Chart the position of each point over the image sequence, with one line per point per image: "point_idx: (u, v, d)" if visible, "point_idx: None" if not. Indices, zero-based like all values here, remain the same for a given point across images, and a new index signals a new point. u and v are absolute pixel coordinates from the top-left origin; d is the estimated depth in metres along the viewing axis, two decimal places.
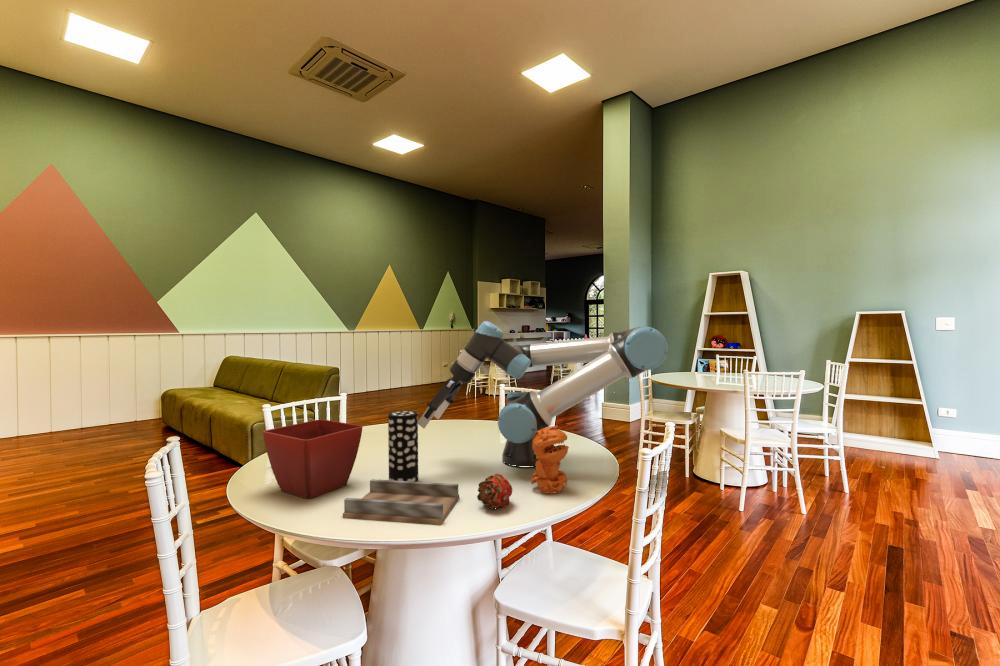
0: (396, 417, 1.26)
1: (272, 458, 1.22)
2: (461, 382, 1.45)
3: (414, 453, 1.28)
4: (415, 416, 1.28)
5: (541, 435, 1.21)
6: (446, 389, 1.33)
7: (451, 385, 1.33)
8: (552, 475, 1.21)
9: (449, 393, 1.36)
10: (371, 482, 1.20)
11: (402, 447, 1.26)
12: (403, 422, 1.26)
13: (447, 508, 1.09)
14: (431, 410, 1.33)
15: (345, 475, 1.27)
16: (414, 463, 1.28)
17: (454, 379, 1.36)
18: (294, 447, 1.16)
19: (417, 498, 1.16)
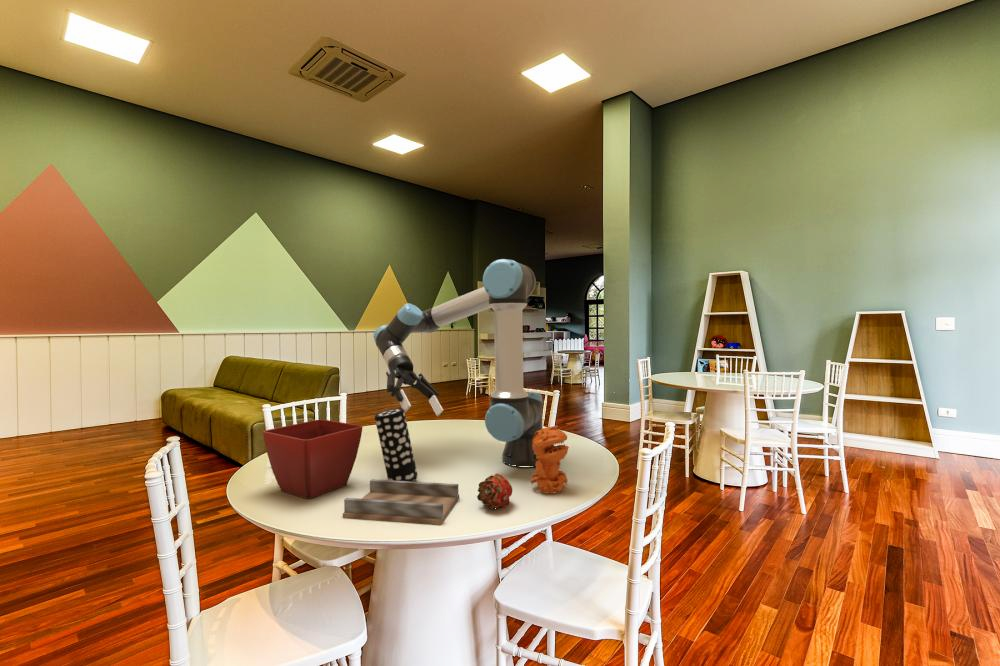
0: (382, 417, 1.25)
1: (272, 458, 1.22)
2: (419, 376, 1.49)
3: (407, 449, 1.27)
4: (401, 413, 1.28)
5: (541, 435, 1.21)
6: (389, 374, 1.39)
7: (389, 369, 1.40)
8: (552, 475, 1.21)
9: (401, 377, 1.40)
10: (371, 482, 1.20)
11: (394, 446, 1.25)
12: (390, 421, 1.25)
13: (447, 508, 1.09)
14: (396, 391, 1.34)
15: (345, 475, 1.27)
16: (410, 459, 1.28)
17: (394, 370, 1.43)
18: (294, 447, 1.16)
19: (417, 498, 1.16)
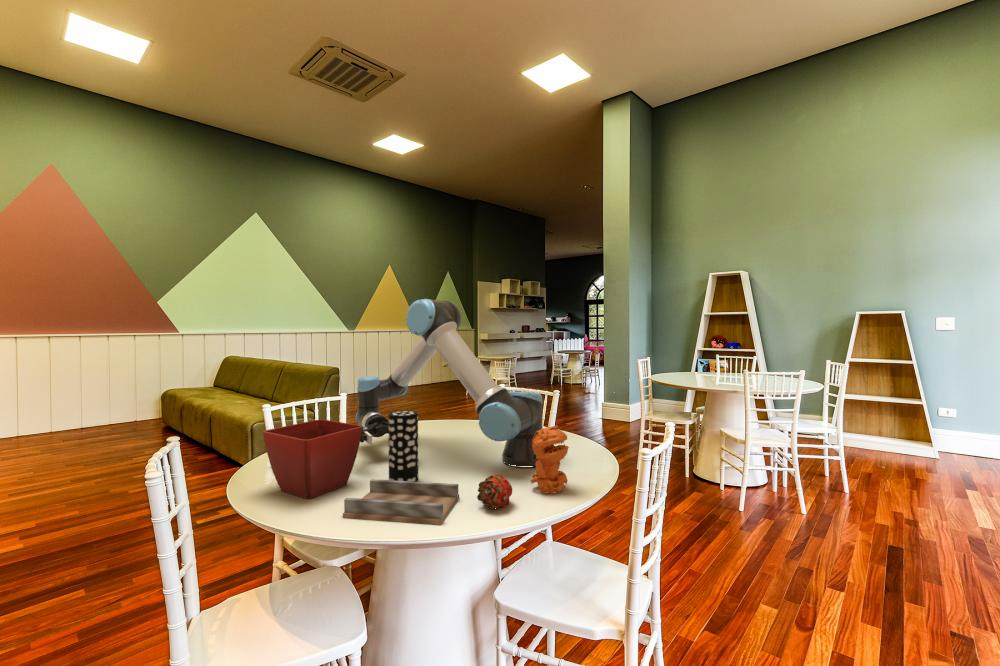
0: (396, 417, 1.26)
1: (272, 458, 1.22)
2: None
3: (414, 453, 1.28)
4: (415, 416, 1.29)
5: (541, 435, 1.21)
6: None
7: None
8: (552, 475, 1.21)
9: (369, 427, 1.47)
10: (371, 482, 1.20)
11: (403, 447, 1.26)
12: (403, 421, 1.26)
13: (447, 508, 1.09)
14: None
15: (345, 475, 1.27)
16: (414, 463, 1.28)
17: None
18: (294, 447, 1.16)
19: (417, 498, 1.16)
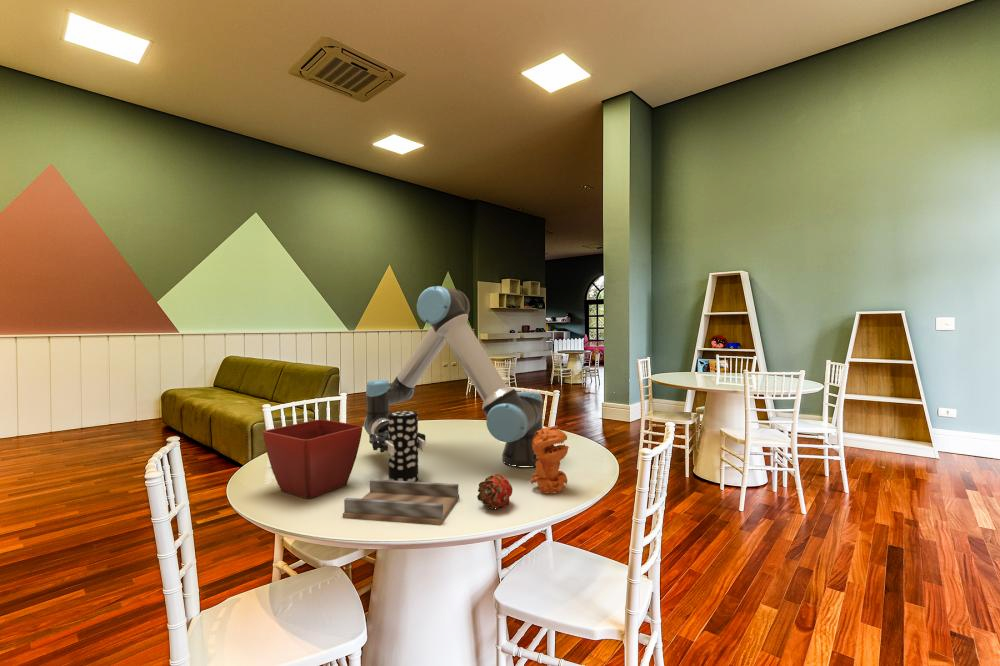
0: (396, 417, 1.26)
1: (272, 458, 1.22)
2: None
3: (414, 453, 1.28)
4: (415, 416, 1.28)
5: (541, 435, 1.21)
6: (371, 439, 1.35)
7: (370, 436, 1.36)
8: (552, 475, 1.21)
9: (383, 435, 1.36)
10: (371, 482, 1.20)
11: (402, 447, 1.26)
12: (403, 422, 1.26)
13: (447, 508, 1.09)
14: (380, 445, 1.28)
15: (345, 475, 1.27)
16: (414, 463, 1.28)
17: None
18: (294, 447, 1.16)
19: (417, 498, 1.16)
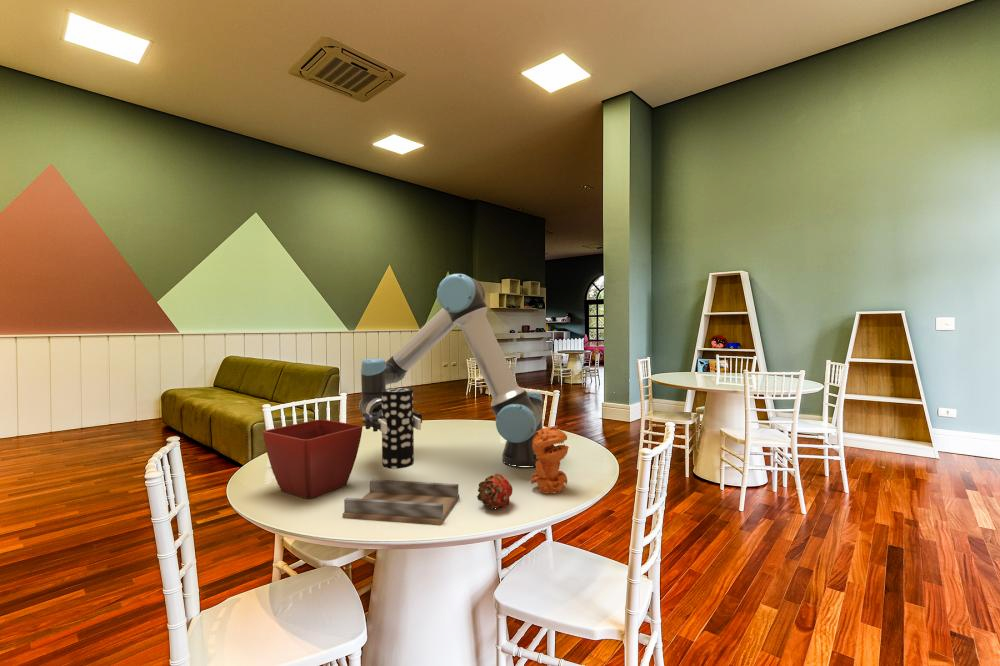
0: (390, 393, 1.18)
1: (272, 458, 1.22)
2: None
3: (408, 432, 1.19)
4: (410, 393, 1.20)
5: (541, 435, 1.21)
6: (365, 418, 1.27)
7: (363, 416, 1.28)
8: (552, 475, 1.21)
9: (377, 415, 1.27)
10: (371, 482, 1.20)
11: (396, 425, 1.18)
12: (397, 398, 1.18)
13: (447, 508, 1.09)
14: (373, 423, 1.20)
15: (345, 475, 1.27)
16: (409, 443, 1.20)
17: None
18: (294, 447, 1.16)
19: (417, 498, 1.16)
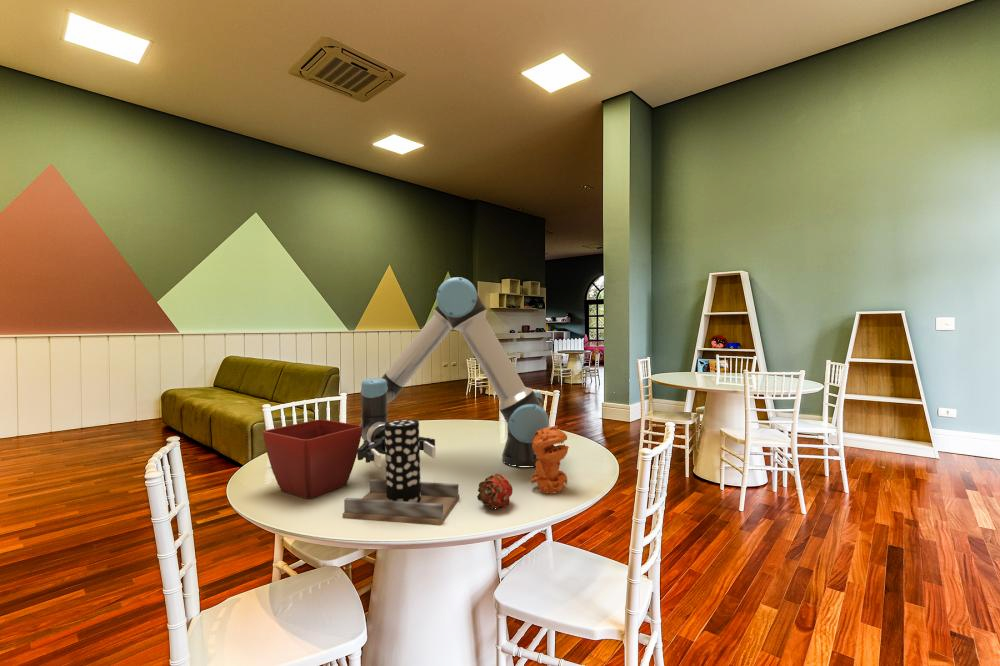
0: (394, 428, 1.08)
1: (272, 458, 1.22)
2: None
3: (415, 469, 1.10)
4: (416, 426, 1.11)
5: (541, 435, 1.21)
6: None
7: (363, 443, 1.19)
8: (552, 475, 1.21)
9: (377, 442, 1.18)
10: (371, 482, 1.20)
11: (402, 463, 1.08)
12: (402, 433, 1.08)
13: (447, 508, 1.09)
14: (366, 454, 1.10)
15: (345, 475, 1.27)
16: (416, 480, 1.10)
17: (374, 443, 1.22)
18: (294, 447, 1.16)
19: None
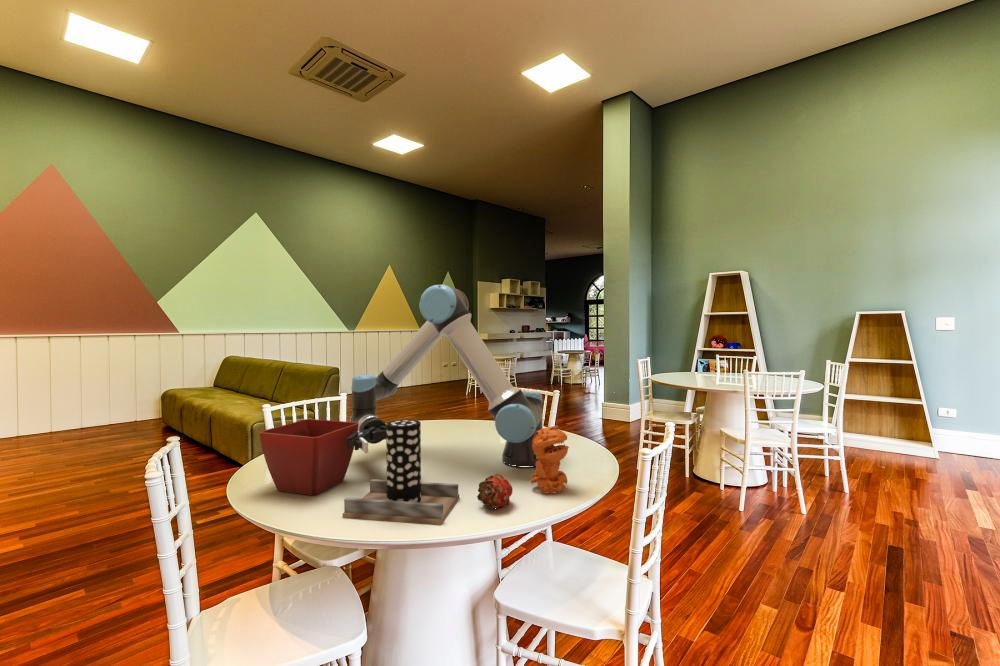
0: (396, 428, 1.08)
1: (271, 458, 1.21)
2: None
3: (416, 469, 1.10)
4: (418, 426, 1.11)
5: (541, 435, 1.21)
6: None
7: (353, 433, 1.30)
8: (552, 475, 1.21)
9: (365, 432, 1.29)
10: (371, 482, 1.20)
11: (403, 463, 1.08)
12: (404, 433, 1.08)
13: (447, 508, 1.09)
14: (355, 442, 1.22)
15: (343, 471, 1.30)
16: (417, 481, 1.10)
17: None
18: (300, 445, 1.17)
19: None
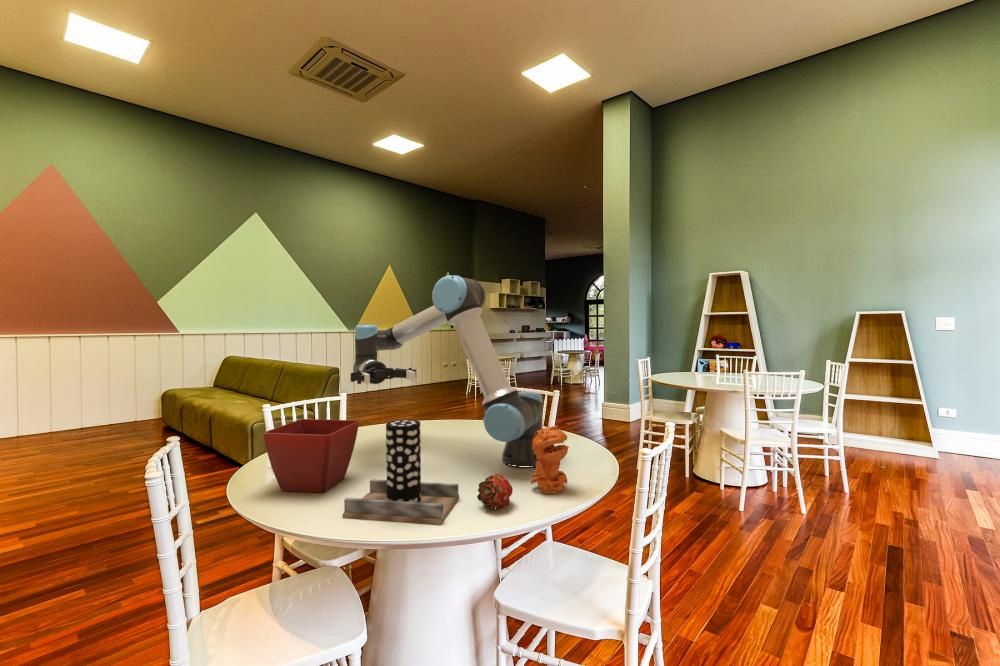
0: (395, 428, 1.08)
1: (276, 458, 1.21)
2: None
3: (416, 469, 1.10)
4: (417, 426, 1.11)
5: (541, 435, 1.21)
6: None
7: None
8: (552, 475, 1.21)
9: (367, 371, 1.41)
10: (371, 482, 1.20)
11: (403, 463, 1.08)
12: (404, 433, 1.08)
13: (447, 508, 1.09)
14: (357, 376, 1.33)
15: (345, 468, 1.33)
16: (416, 481, 1.10)
17: None
18: (311, 444, 1.19)
19: None
